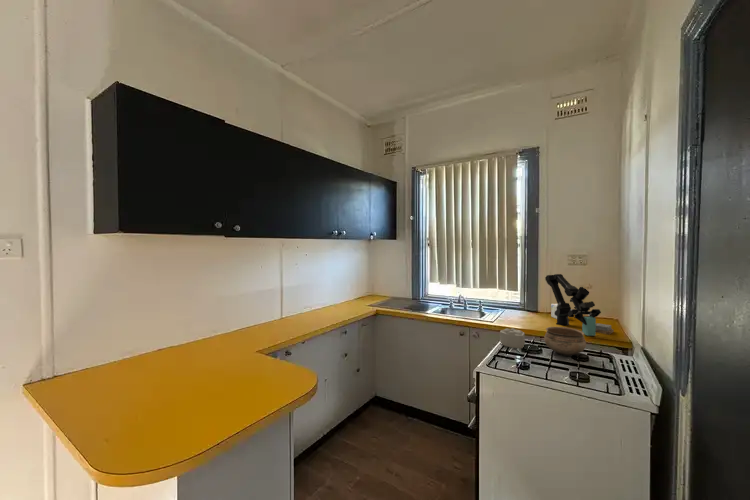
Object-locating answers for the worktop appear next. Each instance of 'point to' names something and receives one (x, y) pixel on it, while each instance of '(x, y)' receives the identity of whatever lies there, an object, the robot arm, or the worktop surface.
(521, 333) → the lumpy-topped squat cylinder
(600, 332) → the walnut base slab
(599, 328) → the charcoal top slab
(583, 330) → the teal pillar block
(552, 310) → the light bulb box
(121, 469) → the worktop surface
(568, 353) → the cooking pot
